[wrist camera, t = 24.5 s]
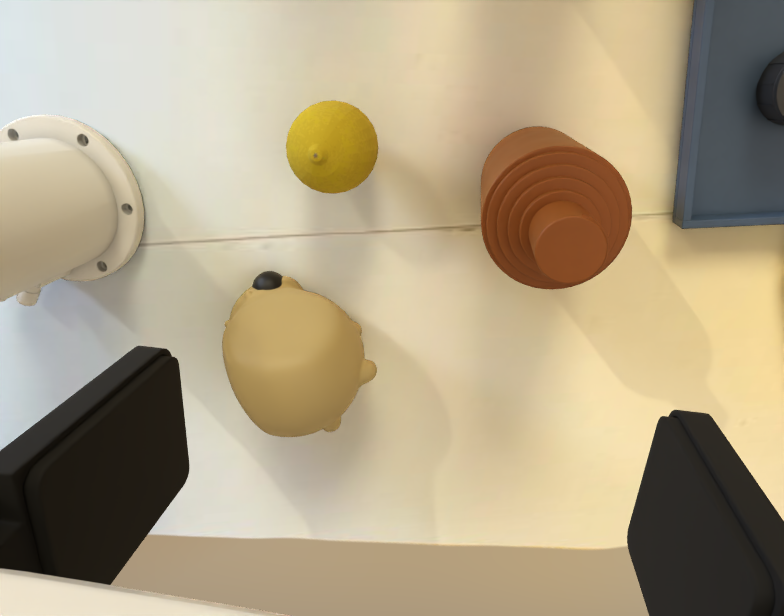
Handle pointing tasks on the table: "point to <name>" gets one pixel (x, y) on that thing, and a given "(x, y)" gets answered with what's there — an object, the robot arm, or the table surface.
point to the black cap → (772, 91)
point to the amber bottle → (552, 209)
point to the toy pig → (293, 357)
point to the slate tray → (730, 119)
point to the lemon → (332, 147)
